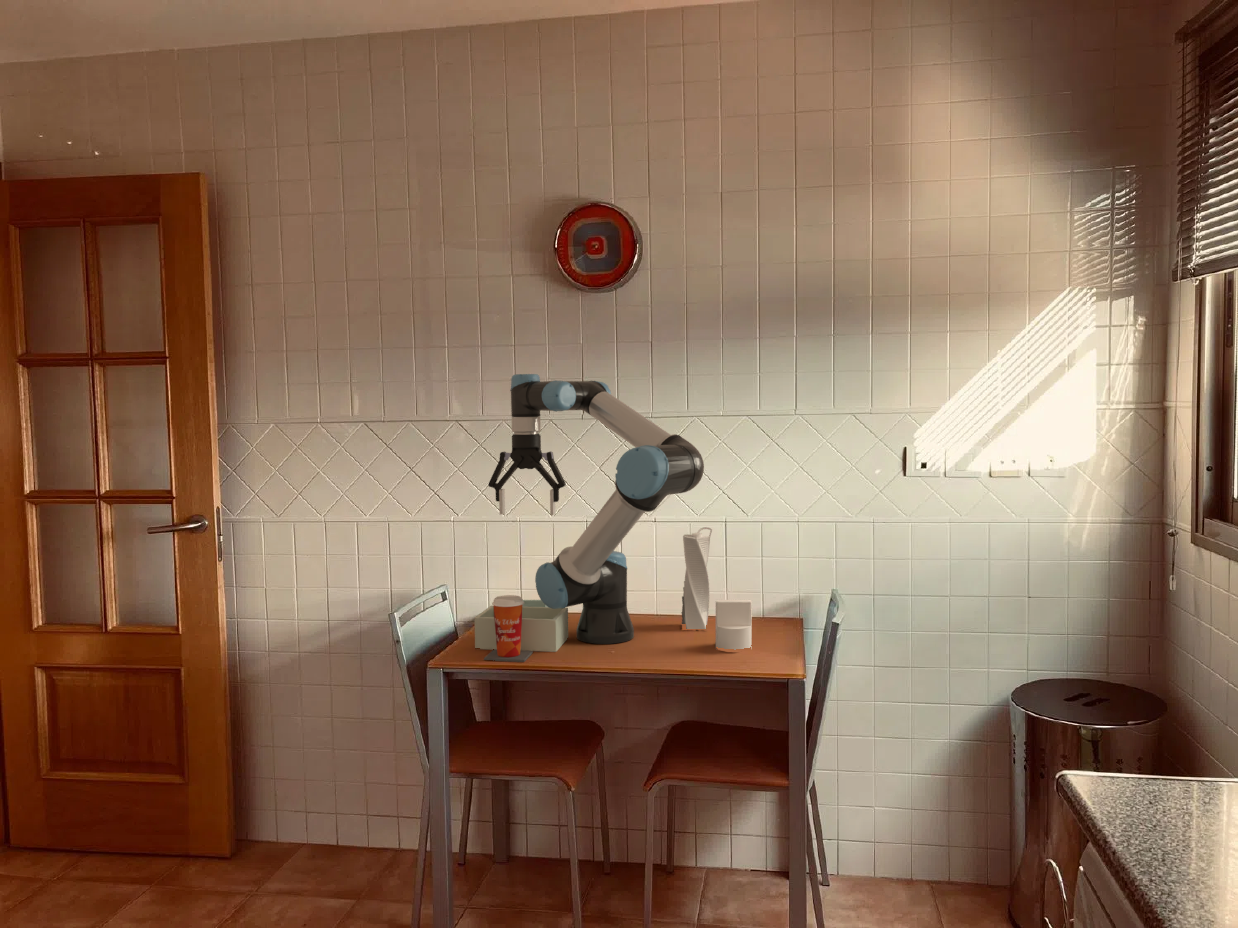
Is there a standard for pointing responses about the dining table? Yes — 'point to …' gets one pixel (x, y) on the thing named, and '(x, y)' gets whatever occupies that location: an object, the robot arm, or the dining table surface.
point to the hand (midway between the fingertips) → (527, 514)
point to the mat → (520, 658)
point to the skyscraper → (696, 581)
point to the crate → (527, 629)
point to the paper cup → (508, 624)
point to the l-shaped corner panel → (533, 603)
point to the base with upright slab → (733, 624)
